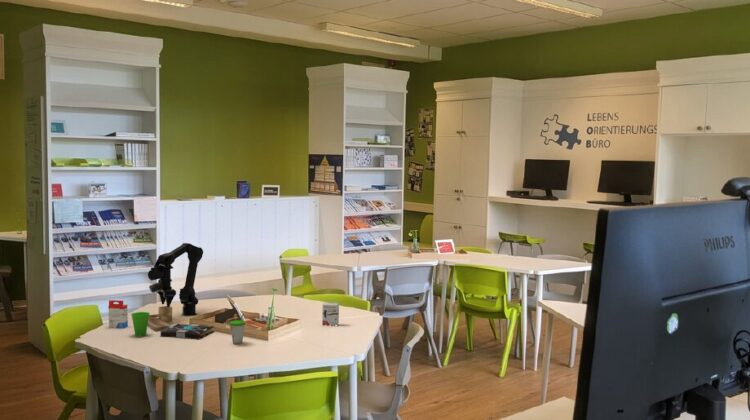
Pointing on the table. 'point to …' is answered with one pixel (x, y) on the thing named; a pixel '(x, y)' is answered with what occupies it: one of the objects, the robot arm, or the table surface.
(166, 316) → the wooden mallet
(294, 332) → the table surface
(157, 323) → the board
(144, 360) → the table surface
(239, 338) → the cup
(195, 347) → the table surface
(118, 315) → the ink box
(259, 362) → the table surface
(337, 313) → the ink box
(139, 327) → the cup
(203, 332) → the book
